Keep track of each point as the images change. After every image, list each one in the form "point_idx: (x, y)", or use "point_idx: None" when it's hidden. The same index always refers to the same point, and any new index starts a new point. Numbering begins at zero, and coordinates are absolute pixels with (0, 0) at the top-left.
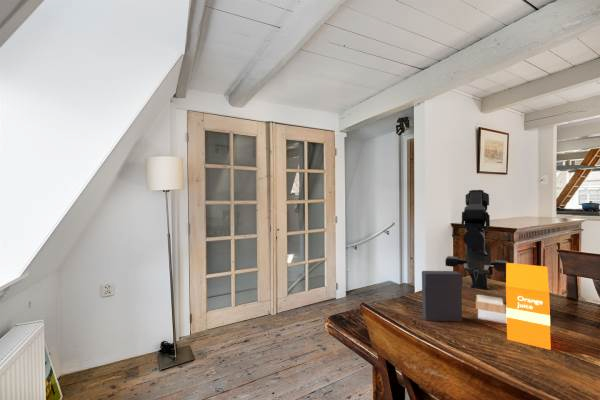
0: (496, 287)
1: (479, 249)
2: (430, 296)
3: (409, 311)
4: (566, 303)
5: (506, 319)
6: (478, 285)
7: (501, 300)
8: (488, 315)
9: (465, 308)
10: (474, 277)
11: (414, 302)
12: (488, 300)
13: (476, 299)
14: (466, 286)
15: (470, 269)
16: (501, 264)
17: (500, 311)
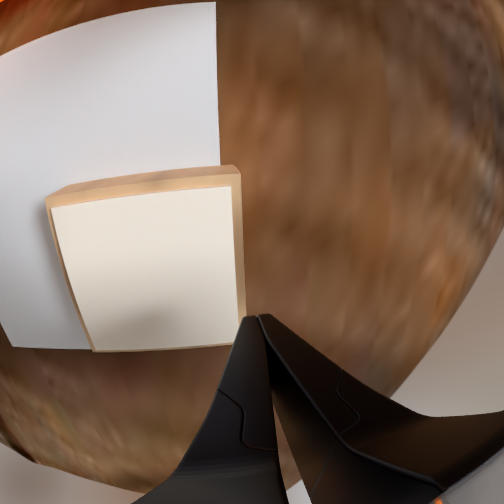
0: None
1: None
2: None
3: (487, 18)
4: (7, 426)
5: (58, 83)
6: (236, 334)
7: (80, 300)
8: (151, 77)
9: (297, 154)
10: (312, 396)
11: (497, 133)
12: (149, 246)
13: (238, 235)
14: (286, 454)
15: (494, 455)
16: None
17: (85, 183)
